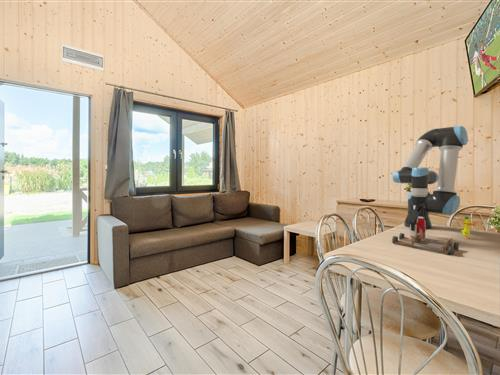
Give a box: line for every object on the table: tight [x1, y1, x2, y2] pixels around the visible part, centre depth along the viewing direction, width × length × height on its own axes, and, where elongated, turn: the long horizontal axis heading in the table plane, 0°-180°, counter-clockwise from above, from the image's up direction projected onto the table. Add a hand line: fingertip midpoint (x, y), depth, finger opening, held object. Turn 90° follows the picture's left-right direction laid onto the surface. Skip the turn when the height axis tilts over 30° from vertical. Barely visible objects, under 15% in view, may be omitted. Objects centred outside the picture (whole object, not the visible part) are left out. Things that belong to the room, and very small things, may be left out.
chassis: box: [391, 232, 460, 256], centre depth 127 cm, size 13×25×5 cm, turn 40°
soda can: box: [409, 216, 427, 240], centre depth 140 cm, size 7×7×12 cm
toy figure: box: [460, 216, 478, 240], centre depth 139 cm, size 7×4×12 cm, turn 48°
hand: (417, 234), depth 141 cm, fingers open, 13 cm apart
